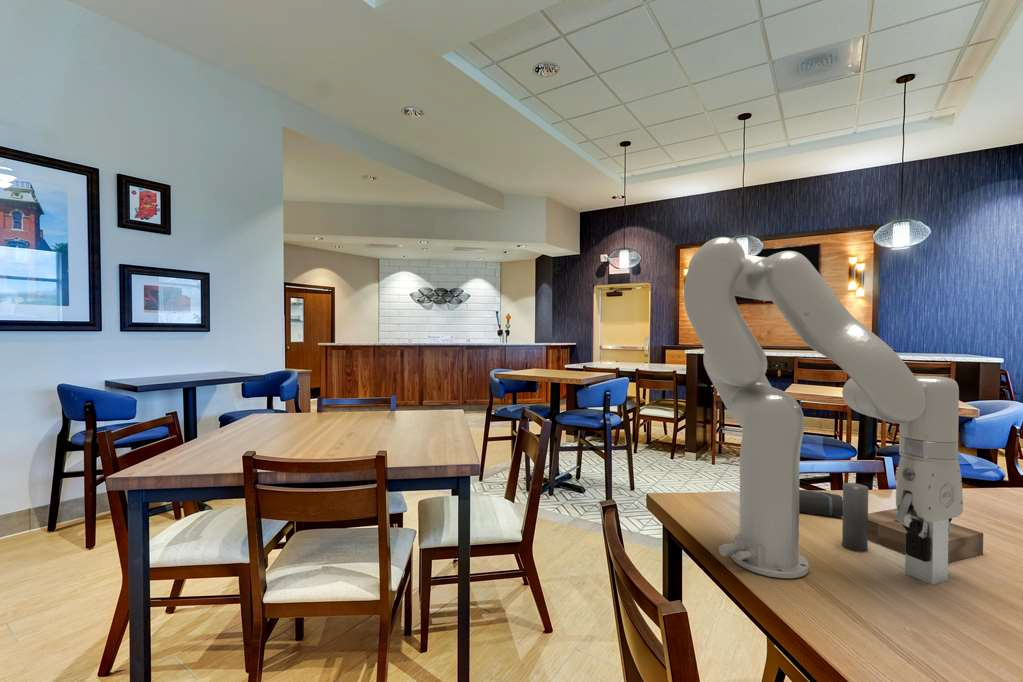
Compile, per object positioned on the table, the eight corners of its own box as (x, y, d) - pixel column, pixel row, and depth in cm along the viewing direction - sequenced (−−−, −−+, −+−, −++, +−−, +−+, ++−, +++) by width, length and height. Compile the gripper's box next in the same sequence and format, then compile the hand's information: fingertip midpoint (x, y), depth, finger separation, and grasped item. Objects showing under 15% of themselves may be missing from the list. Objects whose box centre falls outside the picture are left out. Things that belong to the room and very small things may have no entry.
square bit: (932, 585, 79) (933, 512, 78) (905, 573, 82) (906, 504, 82) (947, 580, 80) (948, 509, 80) (920, 569, 84) (921, 501, 84)
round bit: (858, 553, 90) (858, 490, 90) (837, 544, 94) (838, 484, 94) (872, 550, 91) (873, 488, 91) (851, 541, 95) (852, 481, 95)
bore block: (935, 566, 85) (935, 543, 85) (855, 534, 98) (855, 515, 98) (983, 554, 90) (983, 533, 90) (901, 525, 103) (901, 507, 103)
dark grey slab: (852, 539, 97) (743, 522, 106) (837, 509, 114) (744, 497, 123) (852, 513, 97) (743, 498, 106) (837, 487, 114) (744, 476, 123)
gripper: (920, 458, 75) (919, 574, 75) (985, 450, 80) (984, 558, 80) (870, 447, 82) (869, 553, 82) (933, 440, 87) (932, 540, 87)
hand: (926, 554), depth 81 cm, fingers closed on square bit, 4 cm apart
